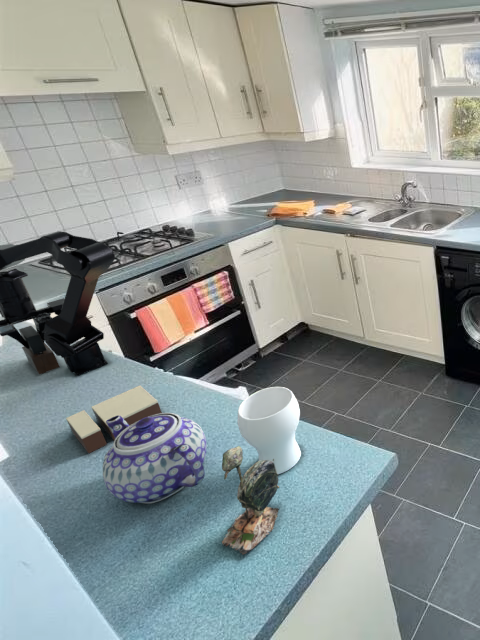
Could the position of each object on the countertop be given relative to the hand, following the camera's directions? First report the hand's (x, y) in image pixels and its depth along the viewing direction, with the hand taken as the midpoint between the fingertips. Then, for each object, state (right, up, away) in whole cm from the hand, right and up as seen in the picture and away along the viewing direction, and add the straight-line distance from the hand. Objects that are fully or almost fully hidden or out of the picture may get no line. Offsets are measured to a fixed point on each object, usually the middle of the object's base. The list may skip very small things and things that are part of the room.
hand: (35, 345), depth 114 cm
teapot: (+61, -20, -31) cm, 71 cm away
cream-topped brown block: (+37, -16, -22) cm, 45 cm away
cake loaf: (+40, -14, -16) cm, 46 cm away
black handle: (0, -5, +2) cm, 6 cm away
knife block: (0, -6, +2) cm, 6 cm away
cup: (+81, -18, -26) cm, 87 cm away
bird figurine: (+84, -24, -39) cm, 96 cm away
